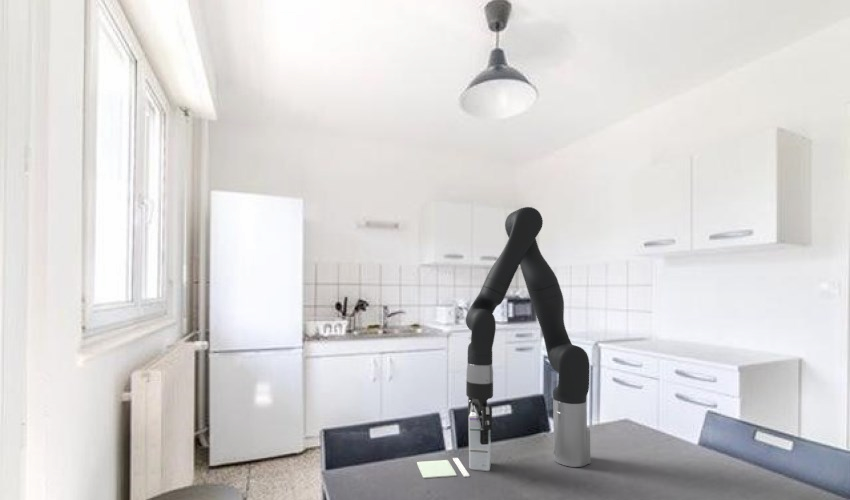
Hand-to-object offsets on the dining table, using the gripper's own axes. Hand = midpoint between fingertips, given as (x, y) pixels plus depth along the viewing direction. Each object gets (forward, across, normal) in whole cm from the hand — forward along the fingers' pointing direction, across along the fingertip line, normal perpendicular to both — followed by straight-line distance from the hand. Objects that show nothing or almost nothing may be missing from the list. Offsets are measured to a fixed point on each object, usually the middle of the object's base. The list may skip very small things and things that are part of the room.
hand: (479, 438), depth 122 cm
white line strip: (+8, 0, +5) cm, 9 cm away
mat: (+8, 0, +12) cm, 14 cm away
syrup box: (+8, 0, 0) cm, 8 cm away
